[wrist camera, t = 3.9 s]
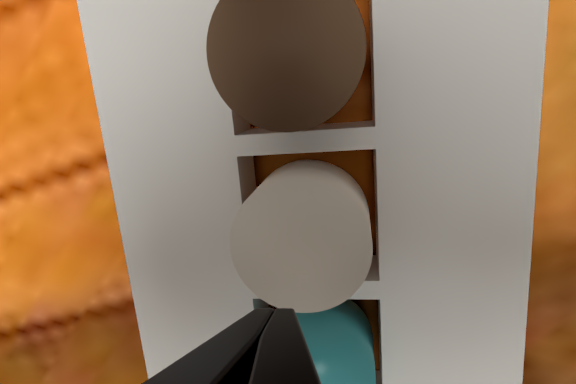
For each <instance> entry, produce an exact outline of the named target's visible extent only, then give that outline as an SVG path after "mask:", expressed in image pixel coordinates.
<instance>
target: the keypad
mask: <svg viewBox="0 0 576 384" xmlns="http://www.w3.org/2000/svg"><path fill="white" fill-rule="evenodd" d="M219 1H220V0H77V4H78V10H79V15H80V20H81V25H82V31H83V36H84V41H85V47H86V52H87V57H88V62H89V68H90V73H91V78H92V84H93V89H94V94H95V99H96V105H97V110H98V115H99V120H100V126H101V131H102V136H103V142H104V147H105V152H106V157H107V163H108V168H109V173H110V179H111V184H112V189H113V194H114V200H115V205H116V210H117V216H118V221H119V226H120V231H121V237H122V242H123V247H124V252H125V258H126V263H127V268H128V274H129V279H130V284H131V289H132V295H133V300H134V305H135V311H136V316H137V321H138V326H139V332H140V337H141V342H142V348H143V353H144V358H145V363H146V369H147V374H148V379H149V378H151V377H152V376H154V375H156V374H157V373H159V372H160V371H162V370H163V369H165V368H166V367H168V366H169V365H171V364H172V363H174V362H175V361H177V360H178V359H180V358H181V357H183V356H184V355H186V354H187V353H189V352H190V351H192V350H193V349H195V348H197V347H198V346H200V345H201V344H203V343H204V342H206V341H207V340H209V339H210V338H212V337H213V336H215V335H216V334H218V333H219V332H221V331H222V330H224V329H225V328H227V327H228V326H230V325H231V324H233V323H234V322H236V321H237V320H239V319H240V318H242V317H244V316H245V315H247V314H248V313H250V312H251V311H253V310H254V309H256V308H269V307H268V303H267V302H265V301H263V300H262V299H260V298H259V297H258V296H256V295H255V294H254V293H253V292H252V291H251V290H250V289H249V288H248V287H247V286H246V285H245V283H244V282H243V281H242V279H241V278H240V276H239V275H238V273H237V271H236V268H235V266H234V263H233V260H232V257H231V252H230V232H231V227H232V223H233V221H234V218H235V216H236V214H237V212H238V210H239V208H240V207H241V206H242V204H243V203H244V202H245V201H246V199H247V198H248V197H249V196H250V195H251V194H252V193H253V192H254V191H255V190H256V189H257V188H256V179H255V169H254V159H253V156H257V155H275V154H294V153H312V152H330V151H349V150H367V149H373V152H374V187H375V221H376V255H373V257H372V262H371V266H370V269H369V272H368V275H367V277H366V279H365V281H364V282H363V284H362V285H361V286H360V288H359V289H358V290H357V291H356V292H355V293H354V294H353V295H352V296H351V297H350V298H349V299H378V325H379V360H380V371H379V370H375V375H376V384H522V380H523V366H524V351H525V337H526V323H527V308H528V294H529V280H530V265H531V251H532V237H533V222H534V208H535V194H536V180H537V165H538V151H539V137H540V122H541V108H542V94H543V79H544V65H545V51H546V36H547V22H548V8H549V0H369V14H370V48H371V83H372V118H373V120H370V121H355V122H340V123H324V124H320V125H317V126H315V127H313V128H310V129H306V130H303V131H297V132H274V131H269V130H265V129H261V128H250V123H248V122H247V121H245V120H243V119H242V118H241V117H239V116H238V115H237V114H235V113H234V112H233V111H232V110H231V109H230V108H229V107H228V106H227V104H226V103H225V102H224V100H223V99H222V98H221V96H220V95H219V93H218V91H217V90H216V87H215V85H214V83H213V81H212V78H211V75H210V72H209V68H208V62H207V53H206V42H207V33H208V27H209V24H210V20H211V17H212V14H213V12H214V10H215V8H216V5H217V4H218V2H219Z"/></svg>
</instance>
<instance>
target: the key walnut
mask: <svg viewBox="0 0 576 384" xmlns="http://www.w3.org/2000/svg"><path fill="white" fill-rule="evenodd" d="M366 44H367V43H366V32H365V27H364V23H363V19H362V17H361V14H360V11H359V9H358V7H357V5H356V3H355V1H354V0H220V1H219V2H218V4H217V5H216V8H215V10H214V12H213V14H212V17H211V20H210V24H209V27H208V33H207V42H206V53H207V62H208V68H209V72H210V75H211V78H212V81H213V83H214V85H215V87H216V90H217V91H218V93H219V95H220V96H221V98H222V99H223V100H224V102H225V103H226V104H227V106H228V107H229V108H230V109H231V110H232V111H233V112H234V113H235V114H237V115H238V116H239V117H241V118H242V119H243V120H245V121H247V122H248V123H250V124H252V125H254V126H256V127H259V128H261V129H265V130H269V131H274V132H297V131H303V130H306V129H310V128H313V127H315V126H317V125H320V124H321V123H323V122H325V121H327V120H328V119H330V118H331V117H332V116H334V115H335V114H336V113H337V112H338V111H339V110H340V109H341V108H342V107H343V106H344V105H345V104H346V103H347V101H348V100H349V99H350V98H351V96H352V94H353V93H354V91H355V89H356V88H357V86H358V83H359V81H360V79H361V76H362V72H363V69H364V65H365V59H366Z"/></svg>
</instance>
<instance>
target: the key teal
mask: <svg viewBox="0 0 576 384" xmlns="http://www.w3.org/2000/svg"><path fill="white" fill-rule="evenodd" d="M295 313H296V316H297V318H298V321H299V324H300V326H301V329H302V332H303V335H304V337H305V340H306V343H307V345H308V348H309V351H310V354H311V356H312V359H313V362H314V364H315V367H316V370H317V373H318V375H319V378H320V381H321V383H322V384H376V375H375V360H374V346H373V333H372V328H371V325H370V322H369V320H368V318H367V317H366V315H365V313H364V312H363V311H362V310H361V308H360V307H359V306H358V305H357V304H355V303H354V302H353V301H351V300H350V299H347V300H346V301H344V302H343V303H341V304H340V305H338V306H335V307H333V308H331V309H328V310H324V311H320V312H314V313H297V312H295Z"/></svg>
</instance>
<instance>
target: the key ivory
mask: <svg viewBox="0 0 576 384" xmlns="http://www.w3.org/2000/svg"><path fill="white" fill-rule="evenodd" d="M230 252H231V257H232V260H233V263H234V266H235V268H236V271H237V273H238V275H239V276H240V278H241V279H242V281H243V282H244V283H245V285H246V286H247V287H248V288H249V289H250V290H251V291H252V292H253V293H254V294H255V295H256V296H258V297H259V298H260V299H262V300H263V301H265V302H267V303H268V304H270V305H272V306H275V307H277V308H292V309H294V310H295V312H297V313H314V312H320V311H324V310H328V309H331V308H333V307H335V306H338V305H340V304H341V303H343V302H344V301H346V300H347V299H349V298H350V297H351V296H352V295H353V294H354V293H355V292H356V291H357V290H358V289H359V288H360V286H361V285H362V284H363V282H364V281H365V279H366V277H367V275H368V272H369V269H370V266H371V262H372V257H373V244H372V234H371V225H370V215H369V207H368V203H367V200H366V197H365V195H364V193H363V191H362V189H361V187H360V186H359V184H358V183H357V182H356V180H355V179H354V178H353V177H352V176H351V175H349V174H348V173H347V172H346V171H344V170H343V169H341V168H339V167H338V166H336V165H333V164H331V163H328V162H325V161H320V160H311V159H305V160H297V161H293V162H290V163H287V164H285V165H283V166H281V167H279V168H277V169H276V170H275V171H273V172H272V173H271V174H270V175H269V176H268V177H267V178H266V179H265V180H264V181H263V182H262V183H261V184H260V185H259V186H258V187H257V189H256V190H255V191H254V192H253V193H252V194H251V195H250V196H249V197H248V198H247V199H246V201H245V202H244V203H243V204H242V206H241V207H240V208H239V210H238V212H237V214H236V216H235V218H234V221H233V223H232V227H231V232H230Z"/></svg>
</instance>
